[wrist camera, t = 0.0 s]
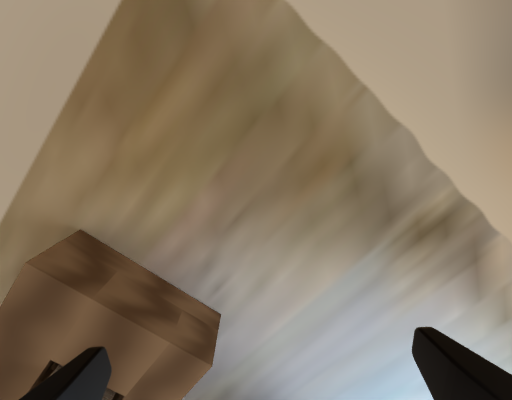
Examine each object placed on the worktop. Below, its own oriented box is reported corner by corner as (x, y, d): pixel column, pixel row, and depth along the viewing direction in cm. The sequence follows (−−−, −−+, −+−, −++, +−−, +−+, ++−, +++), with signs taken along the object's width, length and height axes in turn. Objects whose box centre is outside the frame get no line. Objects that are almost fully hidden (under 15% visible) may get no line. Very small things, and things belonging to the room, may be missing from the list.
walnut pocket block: (220, 314, 25) (212, 366, 19) (121, 428, 29) (92, 496, 24) (80, 229, 22) (25, 262, 17) (-6, 369, 26) (-71, 431, 21)
